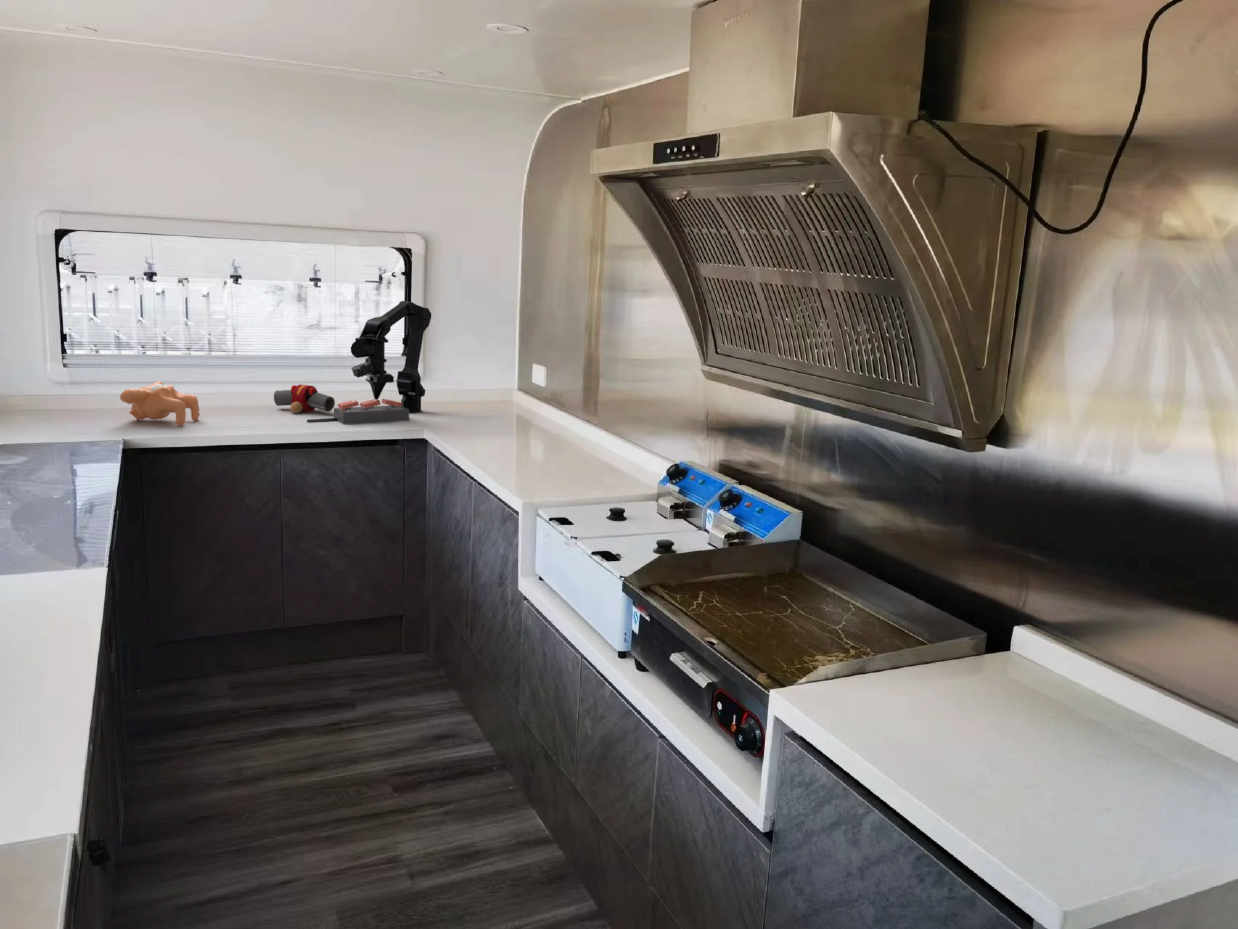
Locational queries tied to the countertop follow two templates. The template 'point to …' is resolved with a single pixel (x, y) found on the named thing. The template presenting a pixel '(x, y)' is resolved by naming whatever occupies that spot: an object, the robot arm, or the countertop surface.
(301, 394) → the toy
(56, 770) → the countertop surface
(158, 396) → the figurine
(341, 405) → the rocker
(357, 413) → the power strip
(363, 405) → the plate
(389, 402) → the red rectangular block
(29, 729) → the countertop surface
